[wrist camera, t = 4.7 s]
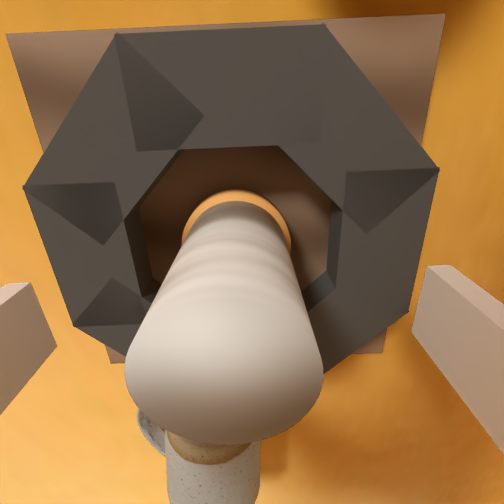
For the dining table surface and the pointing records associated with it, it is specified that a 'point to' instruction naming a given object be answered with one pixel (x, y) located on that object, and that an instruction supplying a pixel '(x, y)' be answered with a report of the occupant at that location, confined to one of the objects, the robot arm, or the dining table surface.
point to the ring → (232, 135)
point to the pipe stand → (233, 239)
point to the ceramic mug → (205, 467)
